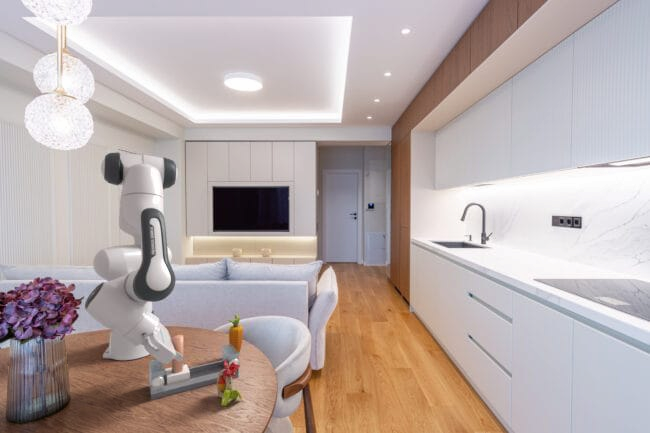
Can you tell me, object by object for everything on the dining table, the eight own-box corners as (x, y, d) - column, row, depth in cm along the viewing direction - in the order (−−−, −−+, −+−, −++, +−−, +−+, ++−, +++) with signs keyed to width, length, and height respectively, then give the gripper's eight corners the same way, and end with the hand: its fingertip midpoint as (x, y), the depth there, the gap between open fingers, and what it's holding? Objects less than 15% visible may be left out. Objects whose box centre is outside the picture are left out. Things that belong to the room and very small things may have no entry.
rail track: (148, 386, 93) (149, 360, 92) (231, 366, 106) (231, 343, 105) (150, 401, 85) (151, 373, 85) (239, 377, 98) (239, 353, 98)
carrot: (238, 362, 108) (239, 318, 108) (225, 360, 109) (226, 317, 109) (245, 355, 113) (246, 314, 113) (232, 354, 114) (233, 313, 114)
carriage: (164, 378, 94) (165, 335, 94) (186, 373, 97) (187, 331, 97) (167, 387, 89) (167, 342, 89) (189, 381, 92) (190, 338, 92)
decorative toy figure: (210, 409, 86) (226, 409, 80) (203, 366, 89) (218, 363, 83) (230, 399, 90) (247, 399, 85) (223, 359, 93) (239, 356, 88)
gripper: (154, 331, 80) (194, 360, 86) (149, 309, 97) (182, 335, 103) (133, 352, 78) (176, 381, 83) (131, 326, 95) (167, 351, 101)
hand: (179, 355), depth 93 cm, fingers closed on carriage, 3 cm apart
